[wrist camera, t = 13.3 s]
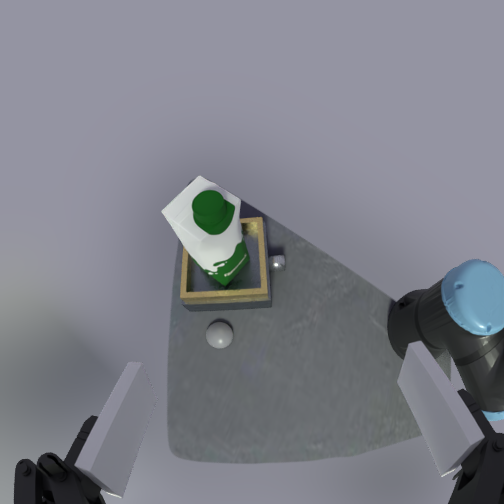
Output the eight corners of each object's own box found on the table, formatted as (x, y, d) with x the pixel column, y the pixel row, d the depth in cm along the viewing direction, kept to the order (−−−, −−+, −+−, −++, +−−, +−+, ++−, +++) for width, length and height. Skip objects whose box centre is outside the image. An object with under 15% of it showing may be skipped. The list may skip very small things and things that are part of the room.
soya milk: (226, 294, 48) (195, 239, 30) (190, 265, 51) (148, 202, 33) (257, 257, 50) (246, 187, 33) (221, 232, 54) (195, 160, 36)
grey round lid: (232, 322, 51) (232, 321, 50) (233, 348, 49) (232, 347, 48) (207, 323, 51) (205, 322, 50) (207, 349, 49) (206, 348, 48)
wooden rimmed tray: (280, 233, 58) (280, 213, 52) (287, 306, 51) (289, 294, 45) (193, 240, 60) (183, 222, 53) (190, 311, 52) (177, 300, 46)
